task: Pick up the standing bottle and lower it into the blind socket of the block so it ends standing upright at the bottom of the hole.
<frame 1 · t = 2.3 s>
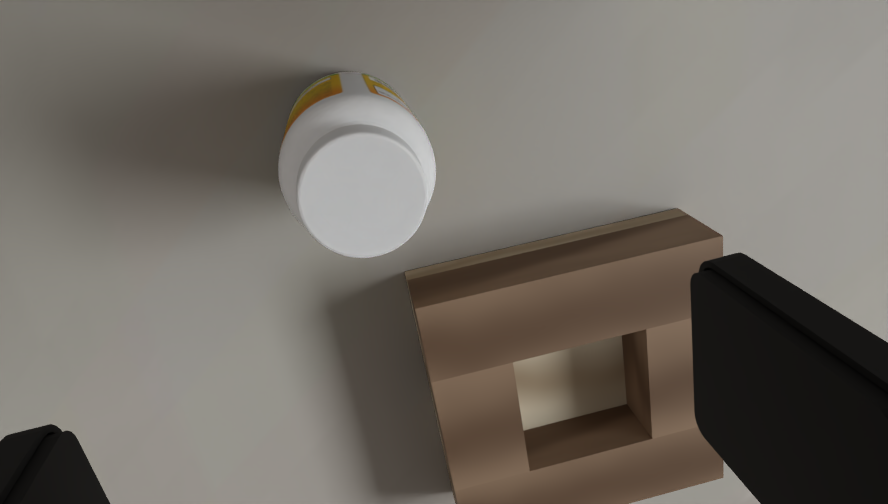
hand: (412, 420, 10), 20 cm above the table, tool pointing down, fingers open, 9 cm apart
socket block: (558, 359, 35), on the table
supplement bottle: (350, 132, 29), on the table
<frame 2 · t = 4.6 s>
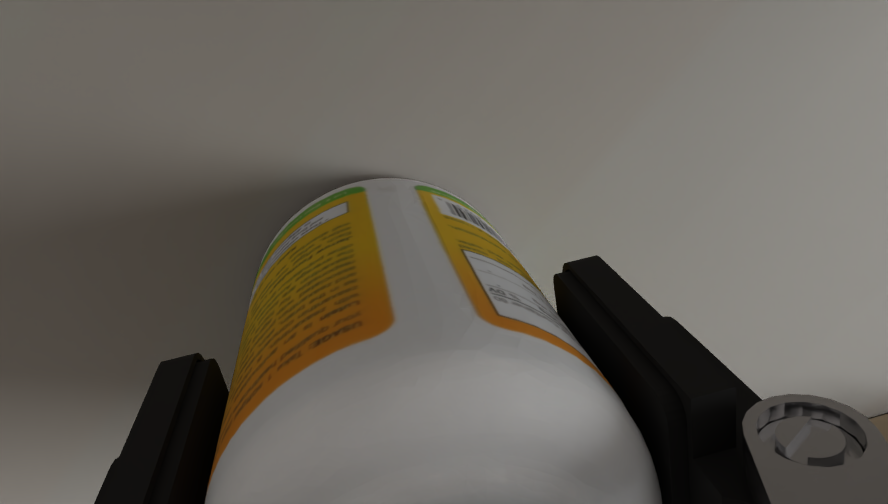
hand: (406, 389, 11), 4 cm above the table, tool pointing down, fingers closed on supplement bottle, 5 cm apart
supplement bottle: (385, 292, 14), on the table, touching gripper
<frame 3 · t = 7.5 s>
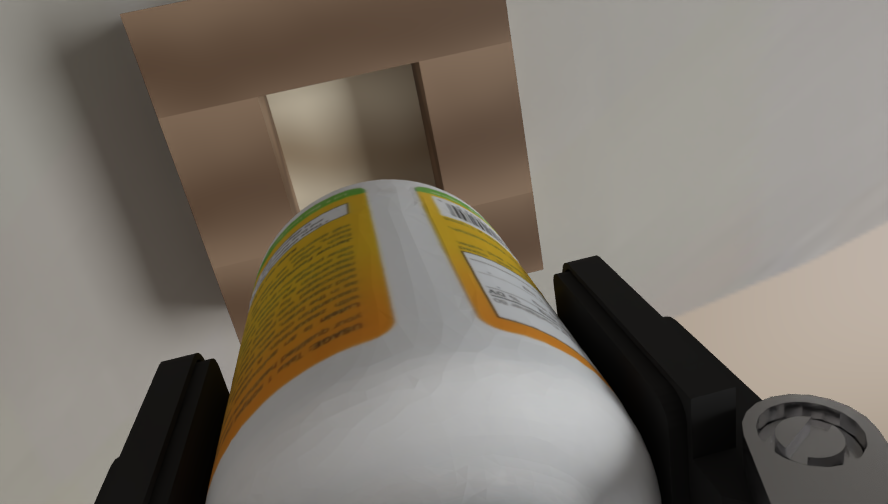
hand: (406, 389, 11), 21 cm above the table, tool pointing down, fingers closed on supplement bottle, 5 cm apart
socket block: (353, 138, 30), on the table
supplement bottle: (385, 293, 14), point 18 cm above the table, touching gripper
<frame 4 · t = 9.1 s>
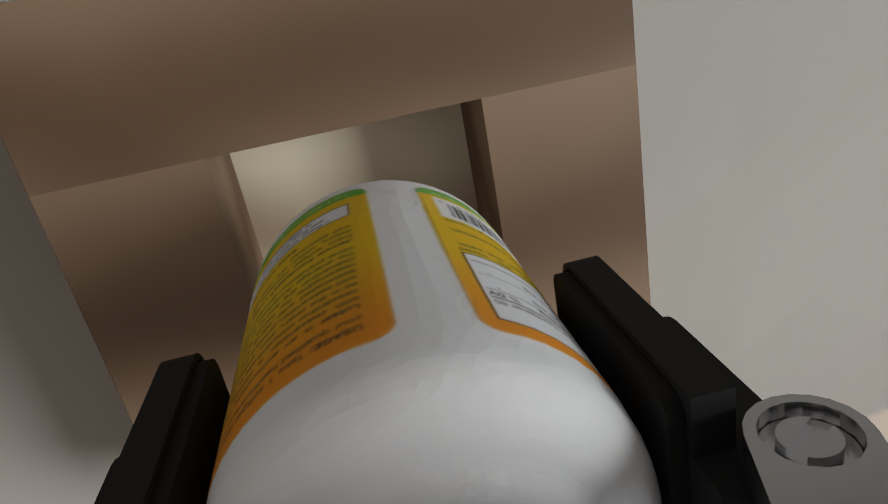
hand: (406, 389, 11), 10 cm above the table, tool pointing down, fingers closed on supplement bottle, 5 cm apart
socket block: (366, 206, 20), on the table
supplement bottle: (385, 294, 14), point 6 cm above the table, touching gripper
when the fingers open (6 cm above the table, at t = 10.4 s): supplement bottle drops 1 cm, resting on socket block.
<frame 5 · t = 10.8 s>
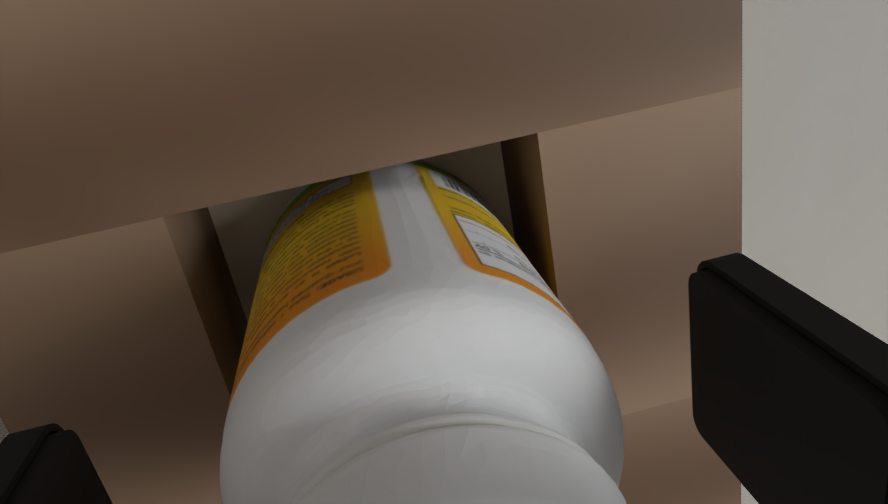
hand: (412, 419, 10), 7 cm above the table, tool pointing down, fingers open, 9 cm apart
socket block: (377, 256, 16), on the table
supplement bottle: (385, 263, 15), point 1 cm above the table, touching socket block
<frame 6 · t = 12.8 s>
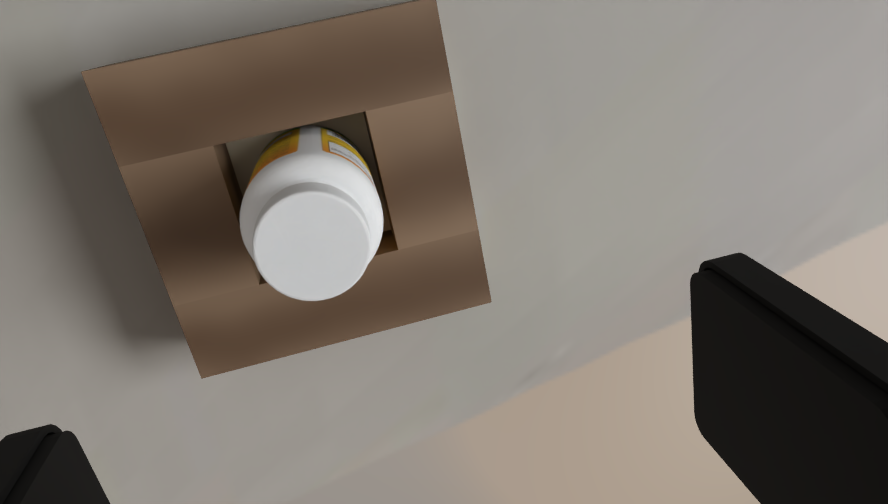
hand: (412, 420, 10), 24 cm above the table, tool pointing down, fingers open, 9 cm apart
socket block: (310, 178, 32), on the table
supplement bottle: (313, 179, 31), point 1 cm above the table, touching socket block
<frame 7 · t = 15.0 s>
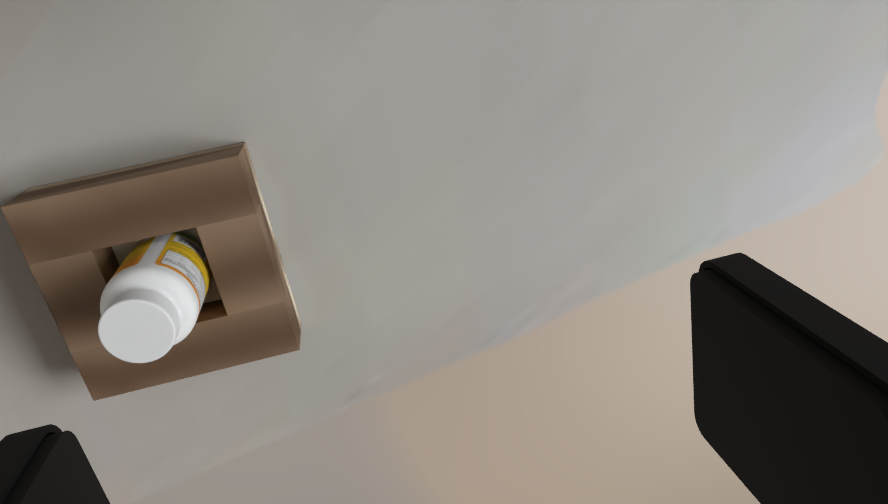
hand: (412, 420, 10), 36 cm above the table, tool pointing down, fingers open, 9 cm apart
socket block: (175, 260, 45), on the table
supplement bottle: (174, 263, 44), point 1 cm above the table, touching socket block
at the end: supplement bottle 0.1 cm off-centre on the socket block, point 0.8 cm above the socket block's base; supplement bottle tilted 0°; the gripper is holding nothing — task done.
